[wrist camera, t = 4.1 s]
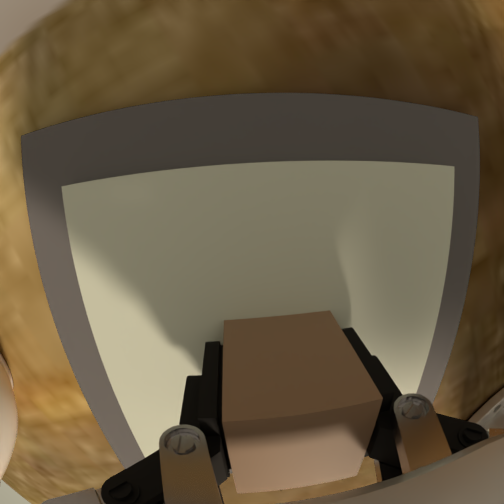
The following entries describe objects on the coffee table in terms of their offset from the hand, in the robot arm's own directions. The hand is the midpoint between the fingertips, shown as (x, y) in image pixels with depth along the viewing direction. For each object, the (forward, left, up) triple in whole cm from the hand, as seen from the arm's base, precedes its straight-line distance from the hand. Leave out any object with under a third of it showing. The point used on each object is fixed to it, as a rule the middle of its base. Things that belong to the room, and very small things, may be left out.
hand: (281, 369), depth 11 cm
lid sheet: (0, 0, -2) cm, 2 cm away
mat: (0, 0, -2) cm, 2 cm away
